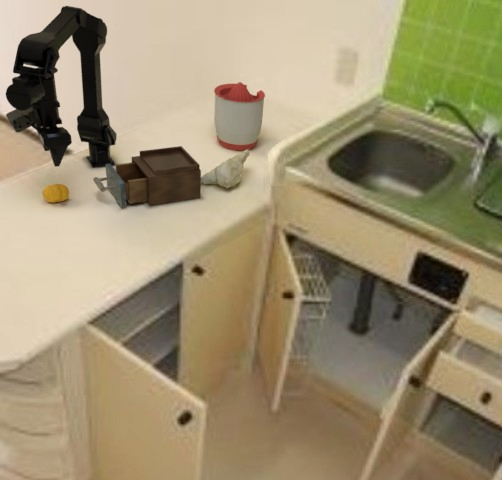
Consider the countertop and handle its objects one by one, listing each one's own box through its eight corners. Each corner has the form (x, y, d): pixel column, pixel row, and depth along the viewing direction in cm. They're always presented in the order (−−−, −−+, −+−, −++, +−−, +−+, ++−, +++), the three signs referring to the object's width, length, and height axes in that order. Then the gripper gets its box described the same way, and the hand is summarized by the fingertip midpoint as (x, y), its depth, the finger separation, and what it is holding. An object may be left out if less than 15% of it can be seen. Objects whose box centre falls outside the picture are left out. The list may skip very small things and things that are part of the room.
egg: (46, 206, 163) (44, 191, 160) (41, 198, 165) (39, 183, 163) (72, 202, 166) (70, 187, 163) (67, 195, 168) (65, 179, 166)
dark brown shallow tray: (156, 176, 165) (156, 170, 164) (139, 156, 173) (139, 150, 172) (199, 170, 171) (199, 164, 170) (181, 151, 179) (181, 145, 178)
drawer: (104, 209, 163) (102, 186, 159) (91, 189, 171) (88, 166, 167) (171, 199, 172) (170, 176, 168) (155, 180, 179) (154, 157, 175)
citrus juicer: (273, 143, 212) (279, 82, 200) (241, 158, 200) (244, 95, 188) (236, 128, 218) (239, 69, 206) (202, 142, 205) (203, 80, 193)
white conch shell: (210, 203, 179) (254, 173, 176) (194, 180, 177) (239, 150, 174) (220, 194, 193) (261, 167, 190) (206, 173, 191) (247, 145, 188)
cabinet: (149, 206, 169) (148, 177, 164) (132, 185, 177) (131, 156, 172) (200, 198, 176) (200, 170, 171) (182, 177, 184) (182, 150, 179)
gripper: (-3, 84, 151) (8, 146, 160) (15, 114, 139) (26, 179, 149) (46, 81, 157) (54, 141, 166) (68, 109, 145) (75, 172, 154)
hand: (51, 158), depth 159 cm, fingers open, 9 cm apart
